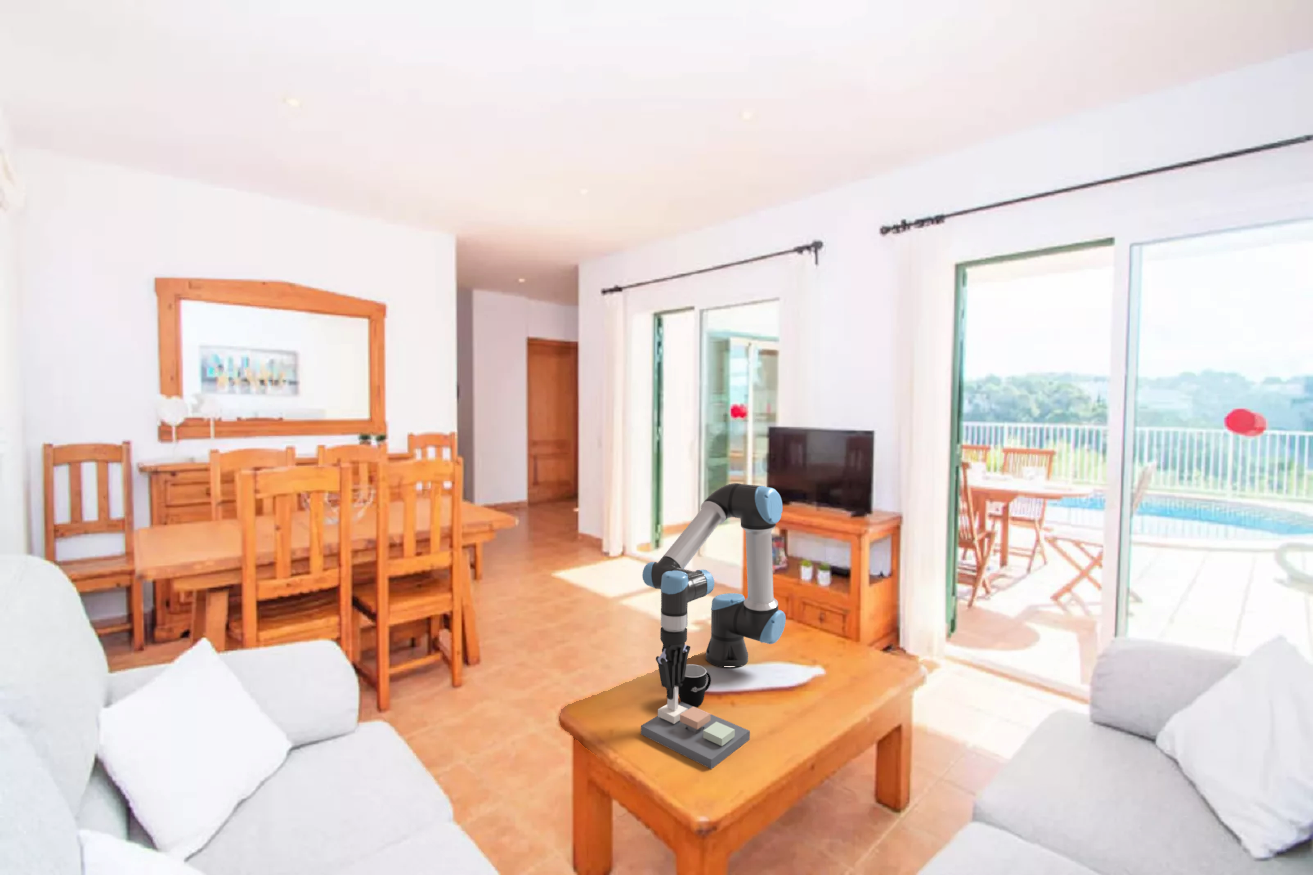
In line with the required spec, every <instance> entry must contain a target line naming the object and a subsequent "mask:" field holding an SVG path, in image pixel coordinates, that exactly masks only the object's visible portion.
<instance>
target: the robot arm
mask: <svg viewBox="0 0 1313 875" xmlns="http://www.w3.org/2000/svg"><path fill="white" fill-rule="evenodd" d="M783 510H784V509H783V500H782V497H781V495H780V493H779V492H778V491H777V490H776V489H775V488H773V487H769V486H768V487H767V486H765V485H755V484H745V483H736V482H734V483H729V484H725V485H724V486H721V487H719V488H718V489H716V490H715V491H714V492H712V493H711V494H709V495H708V497H706V499H705V500H704V501H703V502H702V503H701V505H700V510H699V512H698V513H697V514H696V516H695V517H694V518H693V520H691V521H690V523H689V524H688V525H687V527H686V528H685V529H684V530H683V531H682V532H681V534H680V535H679V536H678V538H677V539H676V540H675V541H674V543H672V544H671V546H670V547H669V548H668V550H667V551H666V552H665V553H664V554H663V556H662V557H661V558H660V559H659V561H650V562H648V563H646V564H645V566H644V568H643V569H642V575H641V576H642V580H643V583H644V584H645V585H646V586H649V587H651V588H653V589H657V590H660V602H661V604H660V632H659V633H660V636H659V637H660V641H661V643H662V648H661V654H660V656H659V655H657V656H656V657H655V661H656V664H657V665H658V672H659V673H658V674H659V676H660V677H659V678H660V685H661V687H662V688H663V687H664V688H665V689H666V699H667V702H666V704H667V708H669V709H671V710H674V711H675V710H677V709H678V703H679V686H682V683H680V682H681V681H684V678H685V671H686V665H688V657H689V654H690V650H691V646H690V645H688V644H686V643H687V642H688V628H687V627H688V604H689V603H691V602H693V601H695V600H698V599H700V598H704V597H706V596H707V595H709V594H711V593H713V591H714V588H715V578H714V576H713V575H712V573H711V572H710V571H709V570H706V569H697V570H695V571H693V570H689V569H685V568H686V566H688V564H689V562H690V561H691V560H692V559H693V558H694V556H695V555H696V554H697V553H698V551H699V550H700V549H701V548H702V546H703V545H704V544H705V543H706V541H707V540H708V538H709V537H710V536H711V535H712V534H713V532H714V531H715V530H716V528H717V527H718V525H722V524H724V523H725V521H726V520H728V519H729V518H735V519H740V527H741V528H742V529H743V530H744V532H745V553H746V577H747V578H746V580H747V581H746V583H747V597H746V598H745V596H744V595H743V594H741V593H736V592H735V593H733V592H731V593H723V594H719V595H718V594H717V595H716V596H714V597H713V598H712V599H711V606H710V608H711V609H710V611H711V614H710V615H711V617H710V618H711V619H710V620H711V622H710V625H711V627H710V628H711V629H710V630H711V631H710V639H709V641H708V644H707V648H706V650H705V659H706V660H705V661H707V662H708V663H709V664H711V665H714V666H716V667H720V668H725V667H724V666H740V667H742V666H741V665H743V666H745V665H746V664H747V663H748V662H749V652H748V649H747V646H746V643H745V639H744V638H747V639H750V640H754V641H756V642H759V643H761V644H763V643H764V644H767V645H773V644H776V643H777V642H778V641H779V640H780V638H781V636H782V635H783V632H784V630H785V626H786V613H785V612H784V611H782V610H781V609H779V601H778V600H777V599H776V598H775V597H774V575H773V574H774V573H773V572H774V570H773V567H774V566H773V543H772V542H773V541H772V540H773V537H772V536H773V535H772V534H773V533H772V531H773V530H774V529H775V528H776V526H777V525H776V524H777V523H779V521H780V520H781V518H782V513H783Z"/></svg>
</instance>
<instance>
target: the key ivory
mask: <svg viewBox="0 0 1313 875" xmlns="http://www.w3.org/2000/svg"><path fill="white" fill-rule="evenodd" d="M687 710H688V709H687V708H685V707H683V706H680V705H678V709H677V710H675V711H674V710H671V709H669V708H667V703H666V704H665V705H663V706H661V707H659V708H658V709H657V716H658V717H660V718H663V719H665V720H667V721H669V722H671V723H673V724H675V723H676V722H678V721H680V714H682V713H683V712H685V711H687Z"/></svg>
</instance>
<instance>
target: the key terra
mask: <svg viewBox="0 0 1313 875" xmlns="http://www.w3.org/2000/svg"><path fill="white" fill-rule="evenodd" d="M710 718H711V713H710V712H707V711H705V710H703V709H701V708H698V707H694V706H693V707H691V708H690V709H688V710H687V711H685V712H683V713H682V714H680V722H682V723H684V724H686V725H688V727H687V730H689V731H692V732H694V733H696V734H697V733H698V732H700V731H701V730H703V725H705V724H706V723H708V722H709V721H710Z"/></svg>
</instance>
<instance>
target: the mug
mask: <svg viewBox="0 0 1313 875" xmlns="http://www.w3.org/2000/svg"><path fill="white" fill-rule="evenodd" d="M680 683H682V686H679V695H678V699H679V701H680V702H683V703H686V704H688V705H690V706H694V707H696V708H698V707H700V706H701V705H702V704H703V701H704V700H705V699H704V698H705V694H706V692H707V690H708V689H709V688H710V687H711V683H712V677H711V674H710V673H709V672H708V671H707V669H706V668H705V667H704V666H702V665H699V664H692V663H691V664H689V663H687V665H686V671H685V678H684V681H681V682H680Z"/></svg>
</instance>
